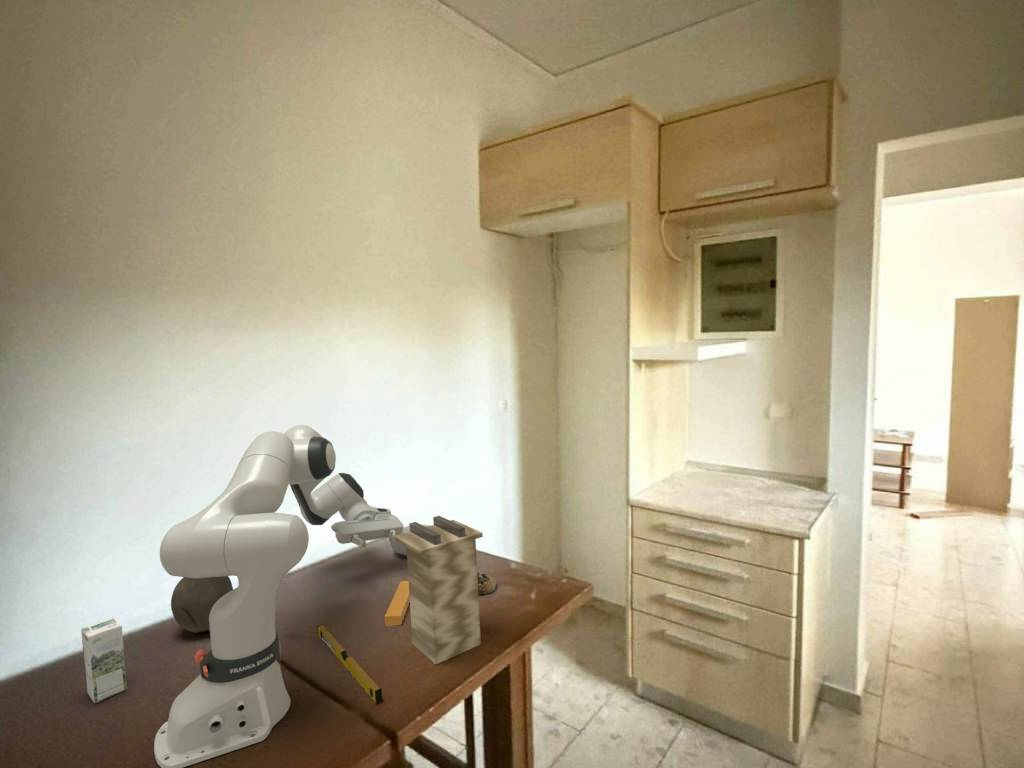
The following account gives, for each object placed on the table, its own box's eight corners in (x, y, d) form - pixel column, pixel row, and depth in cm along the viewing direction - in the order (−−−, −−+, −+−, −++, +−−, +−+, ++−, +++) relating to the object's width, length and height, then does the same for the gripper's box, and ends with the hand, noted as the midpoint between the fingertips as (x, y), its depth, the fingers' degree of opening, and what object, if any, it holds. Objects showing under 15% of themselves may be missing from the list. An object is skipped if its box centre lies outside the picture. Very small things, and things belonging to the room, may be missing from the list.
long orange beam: (385, 628, 132) (384, 616, 131) (401, 591, 152) (400, 581, 151) (401, 627, 132) (400, 615, 131) (414, 590, 152) (414, 580, 151)
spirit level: (382, 702, 103) (381, 688, 103) (376, 706, 102) (375, 691, 102) (323, 635, 129) (322, 623, 129) (318, 637, 128) (317, 625, 128)
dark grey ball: (247, 622, 137) (242, 566, 136) (189, 649, 125) (184, 588, 124) (219, 609, 145) (215, 556, 144) (162, 633, 133) (157, 576, 132)
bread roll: (451, 592, 148) (452, 575, 148) (470, 581, 158) (471, 565, 158) (485, 601, 143) (486, 582, 144) (503, 589, 153) (504, 571, 154)
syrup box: (120, 680, 114) (113, 615, 113) (128, 690, 110) (121, 623, 109) (87, 694, 110) (80, 627, 109) (94, 705, 106) (87, 636, 105)
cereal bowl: (424, 539, 192) (423, 520, 191) (449, 551, 179) (448, 531, 178) (382, 552, 181) (380, 532, 180) (405, 566, 168) (403, 545, 168)
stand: (427, 668, 113) (419, 542, 111) (400, 643, 123) (393, 527, 122) (487, 640, 123) (482, 524, 121) (458, 619, 133) (452, 512, 131)
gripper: (330, 514, 157) (345, 537, 147) (394, 508, 170) (412, 529, 159) (327, 533, 159) (342, 557, 148) (390, 526, 171) (408, 548, 160)
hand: (379, 543), depth 154 cm, fingers open, 8 cm apart
